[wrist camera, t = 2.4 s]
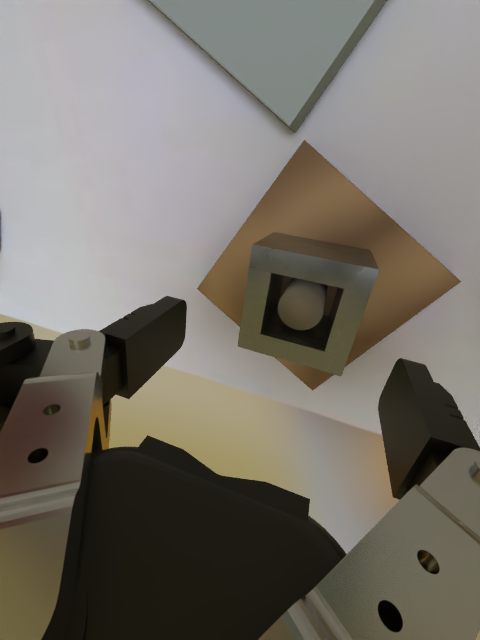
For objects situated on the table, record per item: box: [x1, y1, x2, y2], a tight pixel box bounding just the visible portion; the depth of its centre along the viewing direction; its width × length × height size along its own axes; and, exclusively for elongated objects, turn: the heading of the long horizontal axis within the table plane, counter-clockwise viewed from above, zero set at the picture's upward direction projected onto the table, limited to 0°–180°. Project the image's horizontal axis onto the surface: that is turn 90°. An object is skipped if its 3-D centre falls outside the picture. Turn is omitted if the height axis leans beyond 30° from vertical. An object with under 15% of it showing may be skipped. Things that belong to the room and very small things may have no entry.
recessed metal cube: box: [238, 232, 379, 376], centre depth 17 cm, size 6×6×5 cm
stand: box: [197, 140, 461, 390], centre depth 18 cm, size 12×12×6 cm
